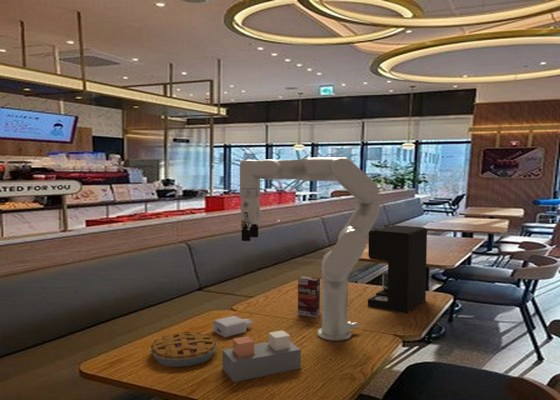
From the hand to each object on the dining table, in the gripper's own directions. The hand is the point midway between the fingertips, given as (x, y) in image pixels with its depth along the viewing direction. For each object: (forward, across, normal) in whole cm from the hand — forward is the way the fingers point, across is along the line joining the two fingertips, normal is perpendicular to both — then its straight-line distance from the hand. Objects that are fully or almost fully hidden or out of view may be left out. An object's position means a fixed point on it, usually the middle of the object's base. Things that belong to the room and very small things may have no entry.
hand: (250, 238), depth 171 cm
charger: (+36, +1, +6) cm, 37 cm away
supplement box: (+36, +26, -18) cm, 48 cm away
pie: (+36, -25, +15) cm, 47 cm away
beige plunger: (+32, -25, -18) cm, 44 cm away
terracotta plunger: (+32, -33, -8) cm, 47 cm away
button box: (+36, -29, -13) cm, 48 cm away
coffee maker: (+36, +55, -54) cm, 86 cm away
